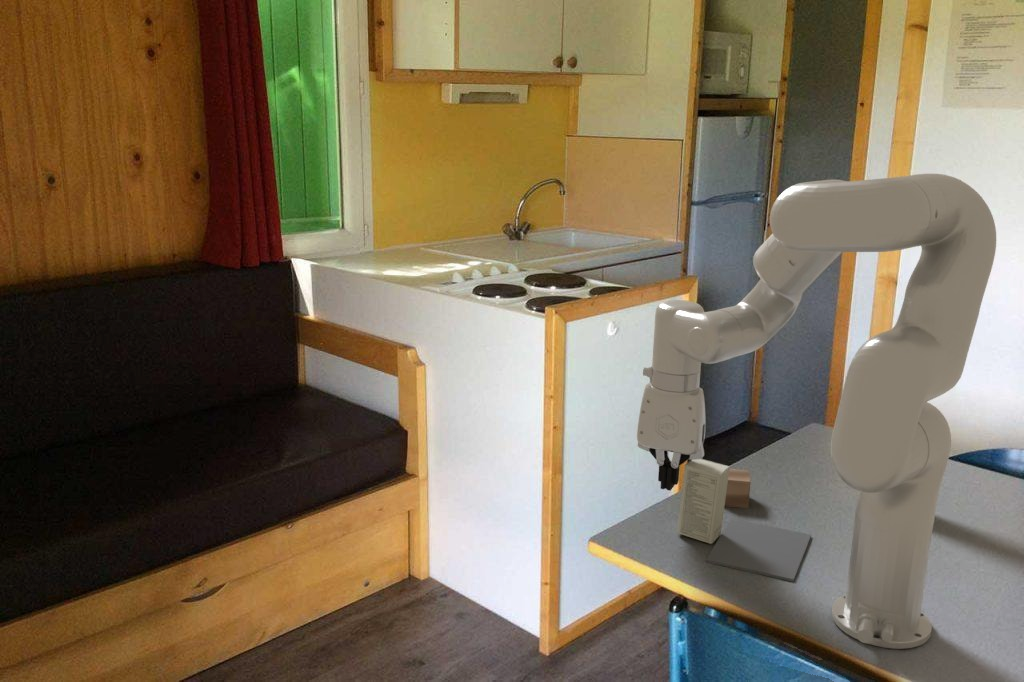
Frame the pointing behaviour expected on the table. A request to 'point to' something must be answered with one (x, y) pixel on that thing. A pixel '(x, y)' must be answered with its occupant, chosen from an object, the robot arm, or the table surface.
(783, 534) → the mat
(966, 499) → the table surface
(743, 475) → the walnut block
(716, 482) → the skincare box
